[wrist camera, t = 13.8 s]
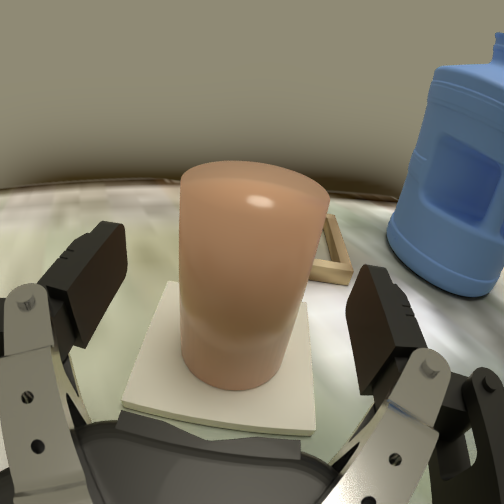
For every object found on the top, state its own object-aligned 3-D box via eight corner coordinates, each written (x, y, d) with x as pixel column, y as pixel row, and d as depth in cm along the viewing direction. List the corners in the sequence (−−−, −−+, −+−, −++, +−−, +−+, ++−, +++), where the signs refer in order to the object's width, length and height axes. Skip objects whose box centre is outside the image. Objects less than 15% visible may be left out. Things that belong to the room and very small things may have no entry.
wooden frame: (331, 226, 35) (334, 215, 34) (348, 285, 26) (353, 271, 25) (238, 211, 34) (240, 198, 34) (226, 267, 26) (228, 251, 25)
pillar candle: (281, 297, 22) (313, 160, 17) (283, 396, 15) (343, 230, 10) (198, 285, 22) (206, 145, 17) (170, 380, 15) (160, 204, 10)
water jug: (374, 214, 40) (424, 16, 25) (465, 241, 39) (520, 67, 24) (397, 285, 27) (482, -8, 12) (508, 310, 26) (594, 81, 11)
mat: (303, 310, 23) (306, 302, 22) (311, 436, 14) (315, 430, 14) (168, 288, 22) (168, 280, 22) (123, 406, 14) (121, 399, 14)
